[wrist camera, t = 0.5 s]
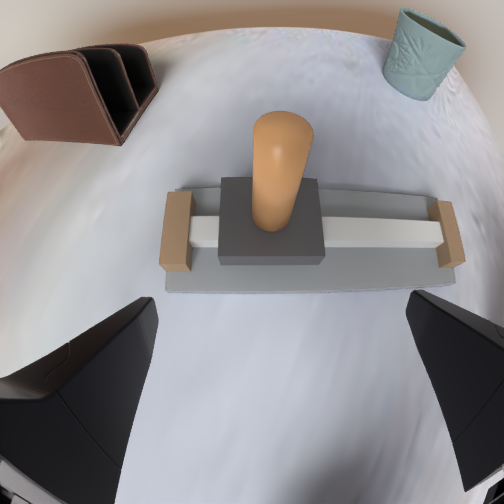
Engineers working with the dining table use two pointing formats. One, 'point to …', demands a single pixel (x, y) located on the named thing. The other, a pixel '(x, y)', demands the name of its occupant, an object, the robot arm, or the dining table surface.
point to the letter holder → (79, 93)
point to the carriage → (273, 200)
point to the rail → (335, 260)
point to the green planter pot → (420, 54)
